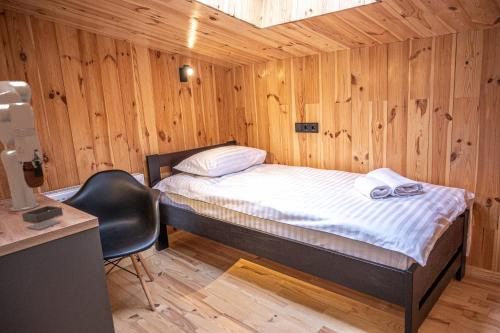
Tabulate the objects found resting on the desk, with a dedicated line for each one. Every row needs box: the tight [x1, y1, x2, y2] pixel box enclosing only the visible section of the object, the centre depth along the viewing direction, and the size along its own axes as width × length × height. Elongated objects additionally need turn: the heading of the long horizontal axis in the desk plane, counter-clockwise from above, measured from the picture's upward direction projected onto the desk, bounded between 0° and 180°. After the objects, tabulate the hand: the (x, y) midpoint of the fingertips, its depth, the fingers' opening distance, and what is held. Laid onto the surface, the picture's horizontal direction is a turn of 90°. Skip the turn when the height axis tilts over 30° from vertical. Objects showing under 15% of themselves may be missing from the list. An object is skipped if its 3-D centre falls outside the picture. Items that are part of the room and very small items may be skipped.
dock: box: [21, 205, 64, 224], centre depth 149 cm, size 11×12×4 cm
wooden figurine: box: [24, 159, 45, 189], centre depth 134 cm, size 7×6×15 cm
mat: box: [26, 219, 62, 231], centre depth 138 cm, size 9×9×1 cm
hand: (33, 176), depth 134 cm, fingers closed on wooden figurine, 6 cm apart
